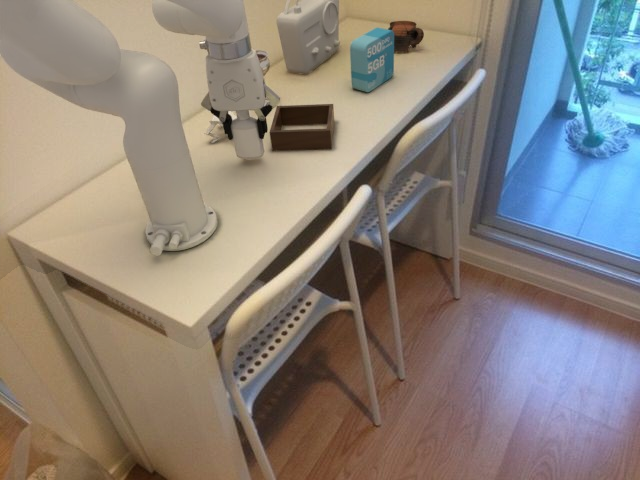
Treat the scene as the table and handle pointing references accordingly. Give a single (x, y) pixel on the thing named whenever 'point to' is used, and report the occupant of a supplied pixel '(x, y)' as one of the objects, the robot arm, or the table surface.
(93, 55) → the robot arm
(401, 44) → the pottery mug
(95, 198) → the table surface
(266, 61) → the wineglass
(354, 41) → the data package
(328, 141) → the square wooden box frame
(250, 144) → the eye dropper bottle
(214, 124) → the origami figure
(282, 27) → the radio
